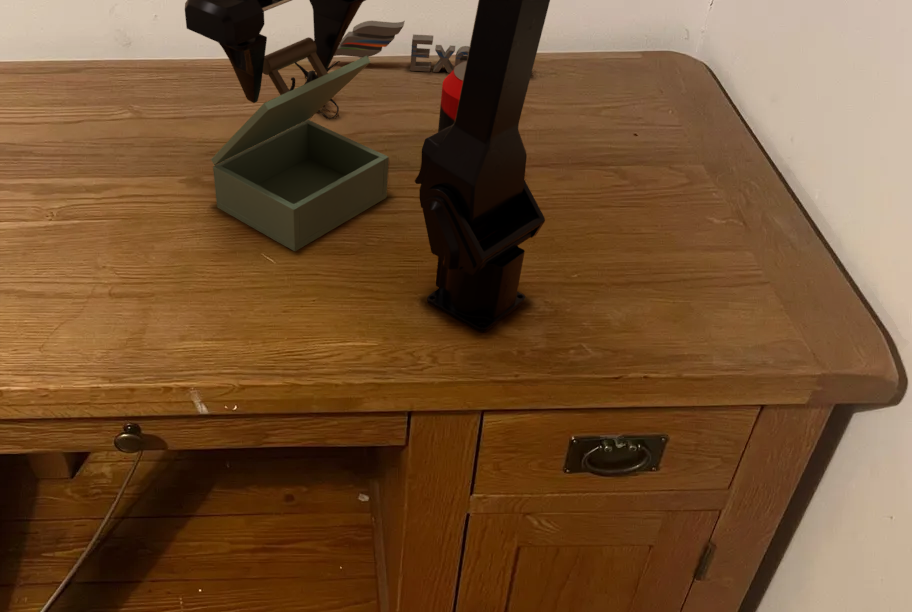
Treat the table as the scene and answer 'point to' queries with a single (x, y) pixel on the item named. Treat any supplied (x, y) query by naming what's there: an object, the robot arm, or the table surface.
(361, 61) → the lid
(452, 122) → the soda can
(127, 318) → the table surface
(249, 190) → the compartment
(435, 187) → the robot arm
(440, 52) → the extruded letter logo
